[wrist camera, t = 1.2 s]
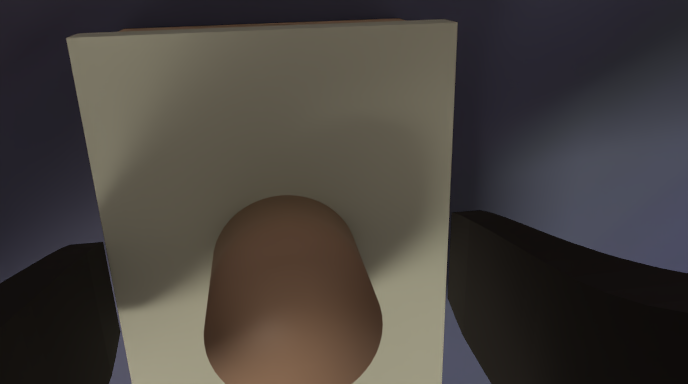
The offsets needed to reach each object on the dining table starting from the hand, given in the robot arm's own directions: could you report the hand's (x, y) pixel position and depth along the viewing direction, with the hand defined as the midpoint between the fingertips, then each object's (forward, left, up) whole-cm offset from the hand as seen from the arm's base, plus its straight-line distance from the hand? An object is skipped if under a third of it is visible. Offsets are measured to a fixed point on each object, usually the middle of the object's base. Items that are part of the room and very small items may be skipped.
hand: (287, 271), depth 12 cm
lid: (0, 0, -2) cm, 2 cm away
